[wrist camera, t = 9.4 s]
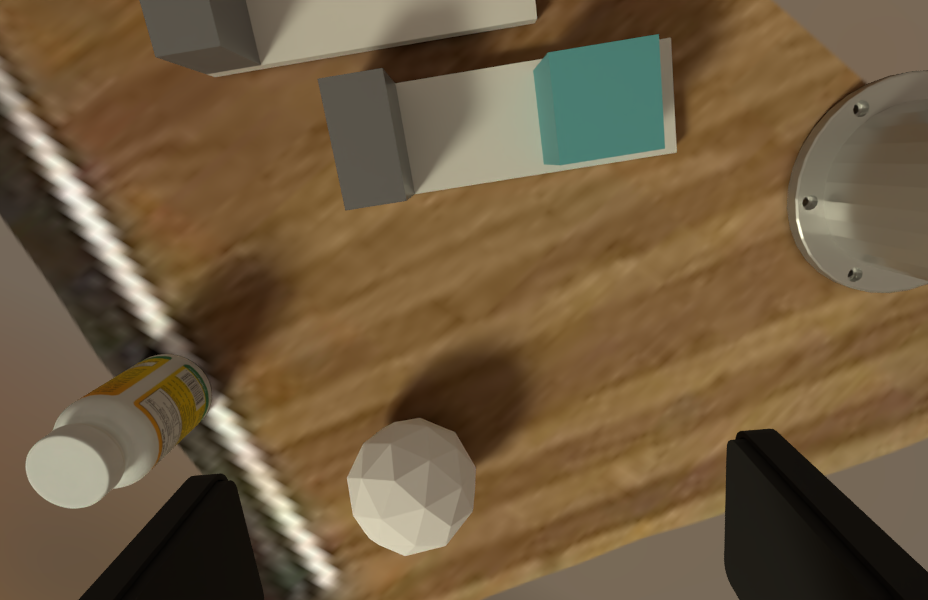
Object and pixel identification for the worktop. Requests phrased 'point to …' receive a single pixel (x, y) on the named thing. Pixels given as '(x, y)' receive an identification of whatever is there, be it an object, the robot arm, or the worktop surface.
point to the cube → (600, 101)
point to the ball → (412, 486)
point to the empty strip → (311, 28)
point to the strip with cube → (447, 130)
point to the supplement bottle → (119, 431)
